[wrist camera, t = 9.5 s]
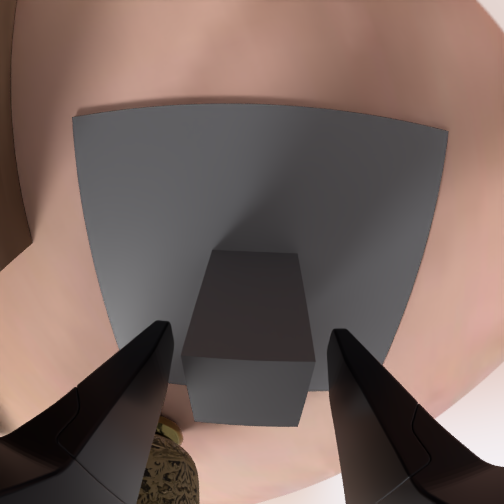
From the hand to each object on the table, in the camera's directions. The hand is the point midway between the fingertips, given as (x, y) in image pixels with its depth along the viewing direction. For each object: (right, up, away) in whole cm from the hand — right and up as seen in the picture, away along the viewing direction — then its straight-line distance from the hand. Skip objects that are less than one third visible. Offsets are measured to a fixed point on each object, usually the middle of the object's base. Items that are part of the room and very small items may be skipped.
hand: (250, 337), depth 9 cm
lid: (0, +2, +4) cm, 4 cm away
